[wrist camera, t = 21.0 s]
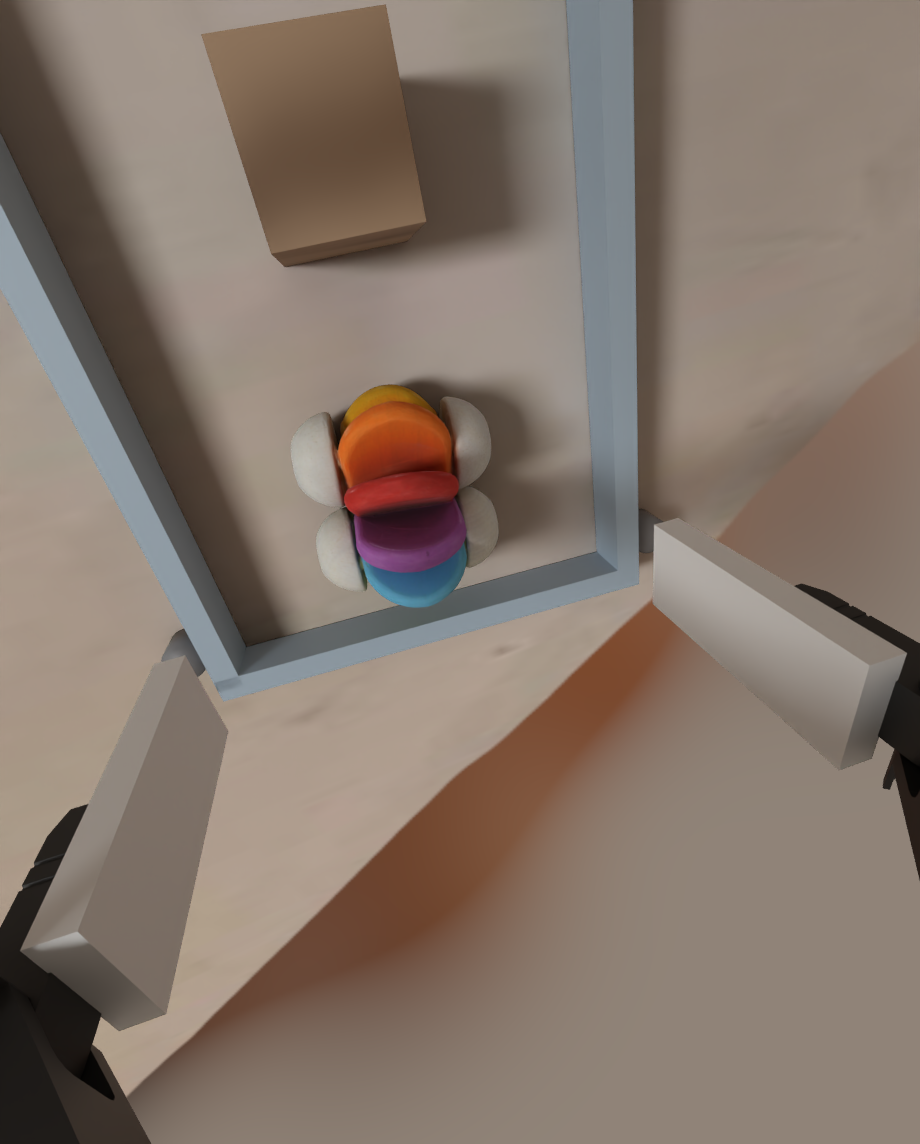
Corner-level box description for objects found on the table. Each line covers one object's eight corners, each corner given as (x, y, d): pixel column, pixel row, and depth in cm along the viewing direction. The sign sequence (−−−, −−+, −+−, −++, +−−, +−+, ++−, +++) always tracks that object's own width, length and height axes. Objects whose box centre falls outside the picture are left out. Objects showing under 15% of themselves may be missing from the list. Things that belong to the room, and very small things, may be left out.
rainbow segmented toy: (470, 367, 23) (521, 386, 17) (487, 555, 28) (533, 625, 22) (282, 394, 22) (261, 426, 16) (332, 586, 27) (332, 670, 20)
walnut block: (233, 103, 18) (201, 34, 13) (373, 78, 18) (385, 4, 14) (284, 267, 20) (271, 253, 16) (407, 241, 21) (426, 221, 16)
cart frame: (-246, -86, 14) (-352, -160, 12) (653, -181, 17) (700, -255, 15) (190, 682, 27) (178, 714, 25) (651, 555, 30) (675, 573, 28)
